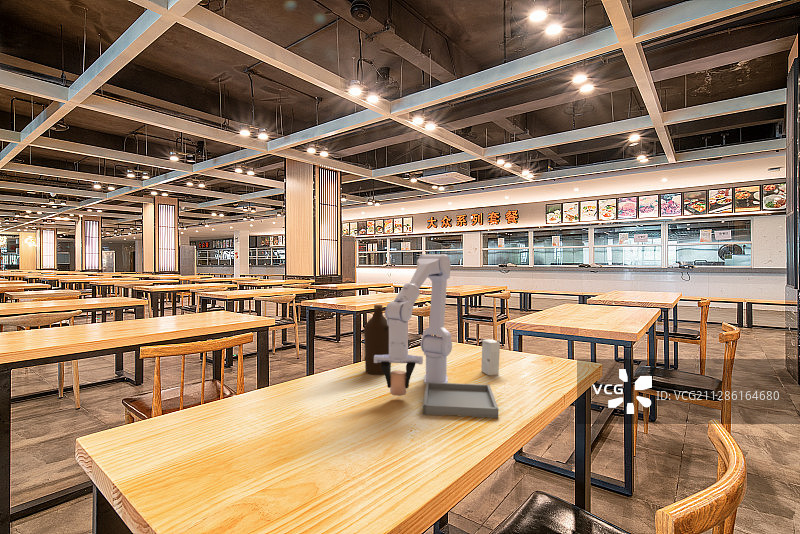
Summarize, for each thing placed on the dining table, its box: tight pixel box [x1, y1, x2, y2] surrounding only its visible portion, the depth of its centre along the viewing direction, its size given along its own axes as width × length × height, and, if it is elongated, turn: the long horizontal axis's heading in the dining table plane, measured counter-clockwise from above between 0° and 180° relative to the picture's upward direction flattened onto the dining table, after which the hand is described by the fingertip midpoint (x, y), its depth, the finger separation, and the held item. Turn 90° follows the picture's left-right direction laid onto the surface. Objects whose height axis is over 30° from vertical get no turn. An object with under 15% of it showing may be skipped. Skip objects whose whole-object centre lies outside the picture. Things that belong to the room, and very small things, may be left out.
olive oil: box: [363, 304, 389, 376], centre depth 145 cm, size 11×11×25 cm
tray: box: [422, 382, 499, 419], centre depth 114 cm, size 20×20×2 cm
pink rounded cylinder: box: [389, 370, 407, 397], centre depth 115 cm, size 5×5×6 cm
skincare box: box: [480, 338, 501, 376], centre depth 144 cm, size 6×4×12 cm
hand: (398, 387), depth 116 cm, fingers closed on pink rounded cylinder, 5 cm apart
